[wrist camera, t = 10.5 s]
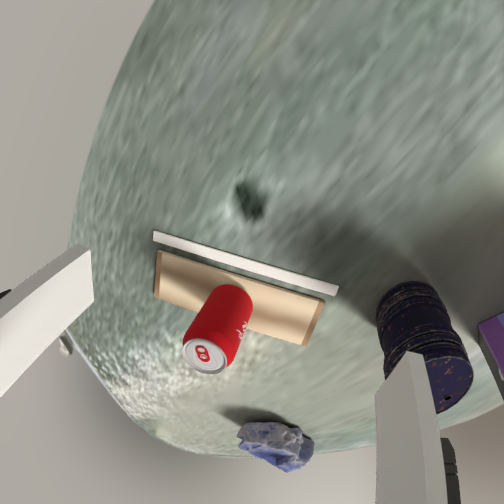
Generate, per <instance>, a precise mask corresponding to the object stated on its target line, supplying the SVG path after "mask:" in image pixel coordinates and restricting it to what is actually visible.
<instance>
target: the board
mask: <svg viewBox="0 0 504 504" xmlns="http://www.w3.org/2000/svg"><path fill="white" fill-rule="evenodd" d="M224 284H231V285H235V286H238V287H240V288H242V289H243V290H245V291H246V292H247V293H248V295H249V296H250V298H251V300H252V303H253V311H252V314H251V316H250V319H249V321H248V324H247V327H246V329H249V330H253V331H256V332H259V333H262V334H266V335H269V336H272V337H276V338H279V339H282V340H286V341H289V342H293V343H296V344H300V345H303V346H307V343H308V341H309V339H310V337H311V334H312V332H313V330H314V328H315V325H316V323H317V321H318V318H319V316H320V313H321V311H322V309H323V306H324V304H325V301H324V300H320V299H317V298H314V297H310V296H307V295H303V294H300V293H297V292H293V291H290V290H287V289H283V288H280V287H277V286H273V285H270V284H267V283H264V282H260V281H257V280H254V279H250V278H247V277H244V276H241V275H238V274H234V273H231V272H228V271H225V270H222V269H218V268H215V267H212V266H209V265H206V264H203V263H199V262H196V261H193V260H190V259H187V258H184V257H181V256H178V255H175V254H172V253H168V252H165V251H162V250H158V251H157V262H156V276H155V293H154V297H156V298H159V299H162V300H165V301H167V302H170V303H173V304H176V305H178V306H181V307H184V308H187V309H189V310H192V311H195V312H198V313H199V311H200V310H201V308H202V306H203V305H204V303H205V302H206V300H207V298H208V297H209V295H210V294H211V292H212V291H213V290H214V289H215V288H216V287H218V286H220V285H224Z"/></svg>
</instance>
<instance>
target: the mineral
mask: <svg viewBox="0 0 504 504" xmlns="http://www.w3.org/2000/svg"><path fill="white" fill-rule="evenodd" d="M236 437H238V438H240V439H242V441H241V443H240V444H239V446H238V447H239V448H240V449H243V450H246V451H248V452H249V453H250V454H251V455H253V456H255V457H257V458H260V459H264V460H266V461H267V462H269V463H270V464H272V465H274V466H276V467H277V468H279V469H281V470H283V471H284V472H291V471H293V470H297V469H301V468H302V467H304V466H305V465H306V463H308V462H309V461H310V458H311V457H312V455H313V451H314V442H313V441H312V440H309V439H307V438H305V437H303V436H302V430H300V429H299V428H292V429H291V428H288V427H287V426H286V425H284V424H281V423H280V422H266V423H261V422H255V423H254V422H251V423H246V424H245V425H244V426H243V427H242V428H241V429H240V430H239V432H238V434H237V436H236Z"/></svg>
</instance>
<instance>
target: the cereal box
mask: <svg viewBox="0 0 504 504" xmlns="http://www.w3.org/2000/svg"><path fill="white" fill-rule="evenodd" d="M478 336H479V346H480V348H481V350H482V352H483V355H484V357H485V359H486V361H487V363H488V365H489V367H490V370H491V372H492V374H493V376H494V379H495V381H496V383H497V386H498V388H499V390H500V393H501V395H502V398H503V400H504V312H502V313H500V314H497V315H495V316H493V317H491V318H489V319H487V320H485V321H483V322H480V323H478Z"/></svg>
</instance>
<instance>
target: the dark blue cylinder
mask: <svg viewBox="0 0 504 504" xmlns="http://www.w3.org/2000/svg"><path fill="white" fill-rule="evenodd" d="M376 321H377V331H378V336H379V340H380V344H381V348H382V350H383V352H384V356H385V358H384V368H383V369H384V374H385V381H386V379H387V378H388V377H389V375H390V374H391V373H392V371H393V370H394V368H395V367H396V366H397V364H398V363H399V361H400V360H401V359H402V357H403V356H404V354H405V353H406V351H409V352H413V353H417V354H421V355H423V358H424V362H425V366H426V370H427V374H428V379H429V383H430V387H431V392H432V396H433V401H434V406H435V411H436V415H437V414H439V413H442V412H444V411H446V410H448V409H449V408H451V407H452V406H454V405H455V404H457V403H458V402H459V401H460V400H461V399H462V398H463V397H464V396H465V395H466V393H467V392H468V391H469V389H470V387H471V385H472V382H473V378H474V372H473V369H472V366H471V364H470V362H469V359H468V356H467V352H466V350H465V347H464V345H463V343H462V341H461V338H460V337H459V335H458V334H457V333H456V332H455V331H454V330H453V328H452V326H451V321H450V317H449V315H448V313H447V310H446V308H445V306H444V304H443V302H442V300H441V299H440V298H439V296H438V294H437V292H436V291H435V289H434V288H433V287H432V286H430V285H429V284H427V283H424V282H420V281H408V282H404V283H401V284H398V285H396V286H395V287H393V288H391V289H390V290H389V291H388V292H387V293H386V294H385V295H384V296H383V297H382V299H381V300H380V302H379V304H378V306H377V310H376Z"/></svg>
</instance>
